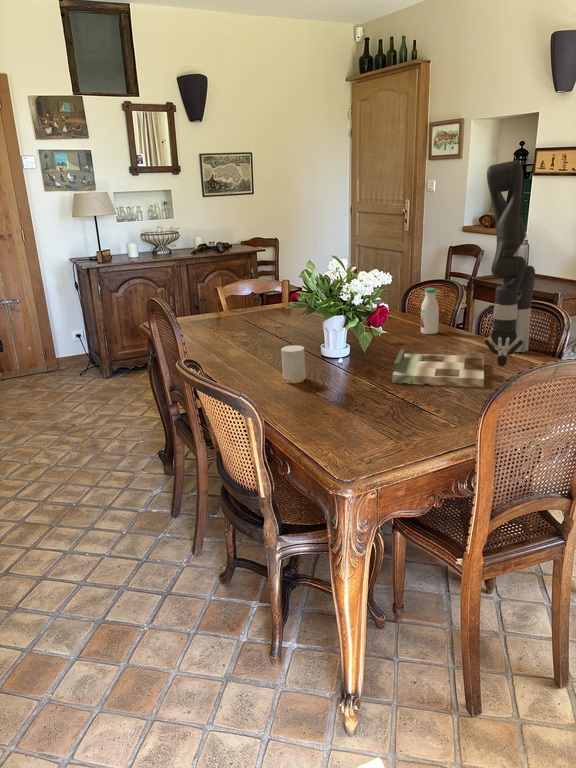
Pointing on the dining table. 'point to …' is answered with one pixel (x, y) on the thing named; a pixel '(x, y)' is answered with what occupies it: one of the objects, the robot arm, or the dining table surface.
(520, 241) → the robot arm
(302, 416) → the dining table surface
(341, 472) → the dining table surface
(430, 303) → the milk bottle
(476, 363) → the walnut block
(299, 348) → the grey beige cylinder
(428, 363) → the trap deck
